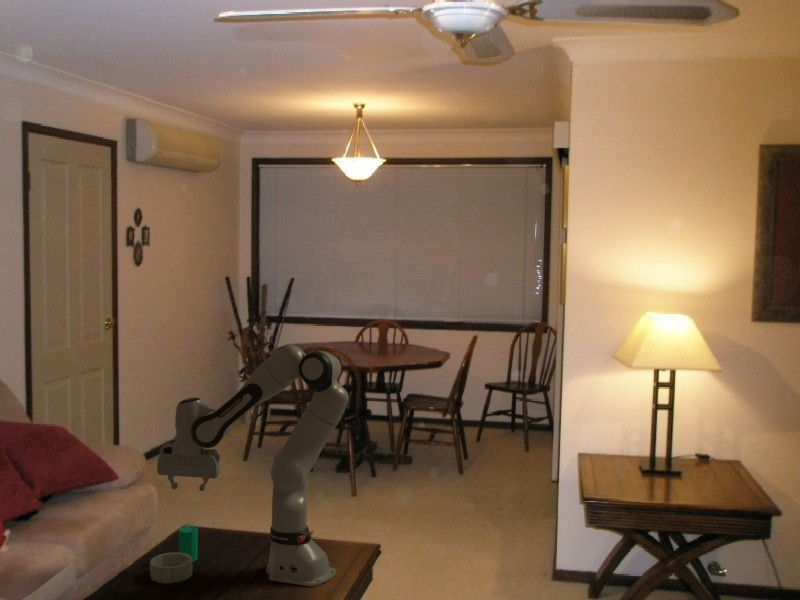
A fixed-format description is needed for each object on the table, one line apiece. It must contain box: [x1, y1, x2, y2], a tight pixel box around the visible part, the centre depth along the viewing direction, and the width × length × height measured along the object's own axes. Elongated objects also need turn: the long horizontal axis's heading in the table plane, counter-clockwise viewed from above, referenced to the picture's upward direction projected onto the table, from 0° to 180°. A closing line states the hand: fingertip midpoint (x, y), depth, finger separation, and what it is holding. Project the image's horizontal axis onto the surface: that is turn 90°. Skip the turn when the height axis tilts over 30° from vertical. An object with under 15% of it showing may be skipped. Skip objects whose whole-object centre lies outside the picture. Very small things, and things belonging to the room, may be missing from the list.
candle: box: [178, 523, 199, 563], centre depth 277 cm, size 6×6×12 cm
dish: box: [149, 552, 193, 584], centre depth 265 cm, size 12×12×5 cm
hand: (188, 489), depth 276 cm, fingers open, 8 cm apart
